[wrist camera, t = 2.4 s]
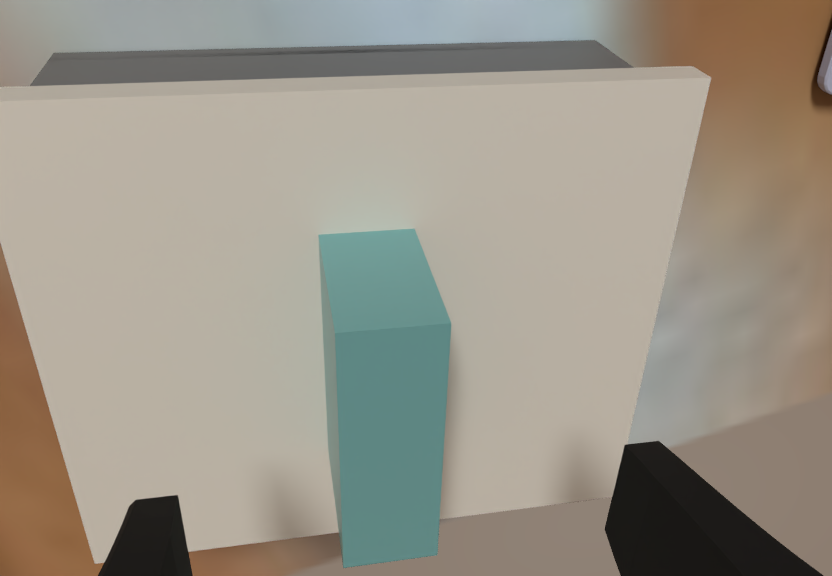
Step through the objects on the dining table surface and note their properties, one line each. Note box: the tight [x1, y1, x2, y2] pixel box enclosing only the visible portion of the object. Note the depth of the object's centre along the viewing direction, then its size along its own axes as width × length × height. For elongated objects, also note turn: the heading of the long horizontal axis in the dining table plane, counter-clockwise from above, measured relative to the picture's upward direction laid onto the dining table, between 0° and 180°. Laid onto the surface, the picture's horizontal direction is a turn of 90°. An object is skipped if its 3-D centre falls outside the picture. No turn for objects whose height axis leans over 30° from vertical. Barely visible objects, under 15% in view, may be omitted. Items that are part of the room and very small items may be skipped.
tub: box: [30, 40, 634, 86], centre depth 20 cm, size 13×11×4 cm
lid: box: [0, 66, 711, 568], centre depth 17 cm, size 14×12×5 cm
